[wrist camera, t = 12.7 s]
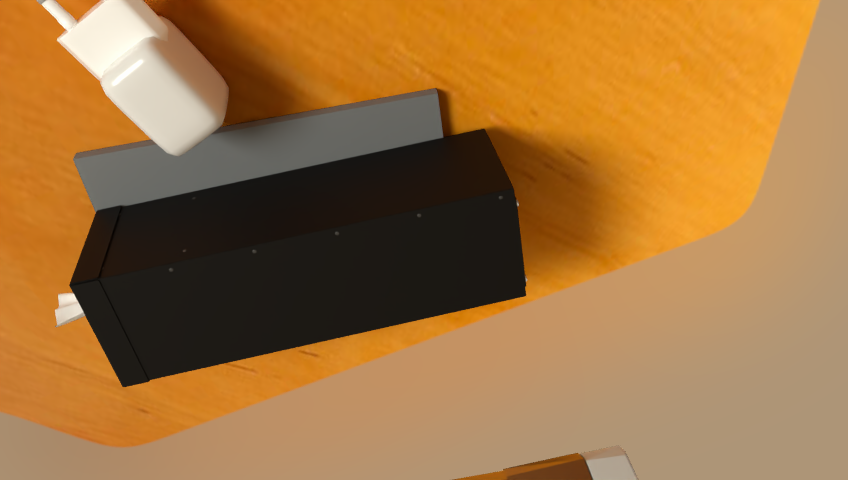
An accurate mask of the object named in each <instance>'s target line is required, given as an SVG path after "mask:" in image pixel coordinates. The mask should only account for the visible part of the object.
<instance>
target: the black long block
mask: <svg viewBox="0 0 848 480" xmlns="http://www.w3.org/2000/svg"><path fill="white" fill-rule="evenodd" d="M517 206H519V205H518V200H516V197H515V195H514V188H513V186H512V184H511V182H510V180H509V178H508V176H507V174H506V172H505V170H504V167H503V165H502V163H501V161H500V159H499V157H498V155H497V153H496V151H495V149H494V147H493V145H492V143H491V141H490V139H489V137H488V135H487V133H486V131H485V129H480V130H476V131H471V132H467V133H462V134H457V135H453V136H448V137H443V138H439V139H434V140H430V141H425V142H420V143H416V144H411V145H406V146H402V147H397V148H393V149H388V150H383V151H379V152H374V153H369V154H365V155H360V156H355V157H351V158H346V159H342V160H337V161H332V162H328V163H323V164H318V165H314V166H309V167H305V168H300V169H295V170H291V171H286V172H281V173H277V174H272V175H268V176H263V177H258V178H254V179H249V180H244V181H240V182H235V183H231V184H226V185H221V186H217V187H212V188H207V189H203V190H198V191H193V192H189V193H184V194H180V195H175V196H170V197H166V198H161V199H156V200H152V201H147V202H143V203H138V204H133V205H129V206H124V207H123V206H121V205H119V206H115V207H110V208H106V209H101V210H97V211H96V214H95V217H94V220H93V222H92V225H91V228H90V230H89V233H88V236H87V238H86V241H85V244H84V247H83V249H82V252H81V255H80V257H79V260H78V263H77V266H76V268H75V271H74V274H73V276H72V279H71V282H70V287H71V289H72V291H73V293H61V294H59V295H58V298H59V308H58V309H55V314H56V320H57V326H55V327H59V326H61V325H64V324H67V323H69V322H72V321H75V320H77V319H79V318H82V317H84V316H86V318H87V320H88V322H89V324H90V326H91V327H92V329H93V331H94V333H95V335H96V337H97V339H98V341H99V343H100V345H101V346H102V348H103V350H104V352H105V354H106V356H107V358H108V360H109V362H110V364H111V366H112V367H113V369H114V371H115V373H116V375H117V377H118V379H119V381H120V383H121V385H122V386H123V387H127V386H132V385H136V384H141V383H145V382H149V381H150V380H152V379H157V378H161V377H165V376H170V375H174V374H179V373H183V372H188V371H192V370H197V369H201V368H206V367H210V366H215V365H219V364H224V363H228V362H233V361H237V360H242V359H246V358H251V357H255V356H260V355H264V354H268V353H273V352H277V351H282V350H286V349H291V348H295V347H300V346H304V345H309V344H313V343H318V342H322V341H327V340H331V339H336V338H340V337H345V336H349V335H354V334H358V333H362V332H367V331H371V330H376V329H380V328H385V327H389V326H394V325H398V324H403V323H407V322H412V321H416V320H421V319H425V318H430V317H434V316H439V315H443V314H448V313H452V312H456V311H461V310H465V309H470V308H474V307H479V306H483V305H488V304H492V303H497V302H501V301H506V300H510V299H515V298H519V297H524V296H526V291H525V286H526V281H527V278H526V275H525V271H524V262H523V254H522V245H521V236H520V227H519V218H518V209H517Z"/></svg>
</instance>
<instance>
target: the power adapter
mask: <svg viewBox="0 0 848 480" xmlns="http://www.w3.org/2000/svg"><path fill="white" fill-rule="evenodd" d="M36 1H37V2H38V3H39V4H41V5H42V6H43V7H44V8H45V9H46V10H48V11H49V12H50V13H51V14H52V15H53V16H54V17H55V18H56V19H57V20H58V22H59V23H60V24H61V25H62V26H63V27H64V28H65V29H66V30H65V31H64V32H63V33H62V34H61V35H60V36H59V37H58V38H57V41H58V42H59V43H60V44H61V45H62V46H63V47H64V48H65V49H66V50H68V51H69V52H70V53H71V54H72V55H73V56H74V57H75V58H76V59H77V60H78V61H79V62H80V63H81V64H82V65H83V66H84V67H85V68H86V69H87V70H88V71H89V72H90V73H91V74H92V75H94V76H95V77H96V78H97V79H98V80H99V81H101V82H100V84H101V86H102V88H103V90H104V92H105V93H106V95H107V96H108V97H109V98H110V99H111V100H112V101H113V103H114V104H115V105H116V106H117V107H118V108H119V109H120V110H121V111H122V112H123V113H125V114H126V115H127V116H128V117H129V118H130V119H131V120H132V121H133V122H134V123H135V124H136V125H137V126H138V127H139V128H140V129H141V130H142V131H143V132H144V133H145V134H146V135H148V136H149V137H150V138H151V139H152V140H153V141H154V142H155V143H156V144H157V145H158V146H160V147H161V148H162V149H163V150H164V151H165V152H166V153H168V154H170V155H173V156H181V155H183V154H185V153H186V152H188V151H189V150H191V149H192V148H194V147H195V146H196V145H198V144H199V143H200V142H202V141H203V140H204V139H206V138H207V137H208V136H210V135H211V134H212V133H213V132H215V131H216V130H217V129H218V128H219V127H220V126H222V124H223V121H224V118H225V114H226V110H227V103H228V95H229V88H228V86H227V84H226V82H225V80H224V79H223V77H222V76H221V75H220V74H219V73H218V71H217V70H216V69H215V68H214V67H213V66H212V65H211V63H210V62H209V61H208V60H207V59H206V58H205V57H204V56H203V55H202V54H201V53H200V51H199V50H198V49H197V48H196V47H195V46H194V45H193V44H192V43H191V42H190V41H189V40H188V39H187V38H186V36H185V35H184V34H183V33H182V32H181V31H180V30H179V29H178V28H177V27H176V26H175V25H174V24H173V23H172V22H171V21H170V20H168V19H166V18H164V17H162V16H157V14H156V13H155V12H154V11H153V10H152V9H151V8H150V7H149V6H148V5H147V4H146V3H145V2H144V1H143V0H101V1H99V2H98V3H97V4H96V5H95V6H93V7H92V8H91V9H90V10H89V11H87V12H86V13H85V14H84V15H83V16H81V17H80V18H79V19H78V20H76V19H75V18H74V17H73V16H72V15H71V14H70V13H69V12H67V11H66V10H65V9H64V8H63V7H62V6H61V5H60V4H59V3H58V2H57V1H55V0H36Z"/></svg>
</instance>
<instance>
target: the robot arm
mask: <svg viewBox="0 0 848 480" xmlns="http://www.w3.org/2000/svg"><path fill="white" fill-rule="evenodd" d="M454 480H638V478H637V475H636V473H635V471H634V469H633V467H632V465H631V463H630V461H629V458H628V456H627V454H626V452H625V451H624V450H623V449H622V448H621V447H620V446H614V447H609V448H604V449H599V450H594V451H589V452H584V453H581V454H578V453H575V454H570V455H566V456H561V457H556V458H552V459H547V460H543V461H538V462H533V463H529V464H524V465H520V466H516V467H511V468H506V469H503V471H499V472H493V473H488V474H482V475H477V476H471V477H466V478H460V479H454Z"/></svg>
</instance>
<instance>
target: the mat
mask: <svg viewBox="0 0 848 480" xmlns="http://www.w3.org/2000/svg"><path fill="white" fill-rule="evenodd" d="M439 138H443V131H442V123H441V115H440V107H439V100H438V93H437V90H436V88H434V89H429V90H423V91H418V92H412V93H407V94H401V95H396V96H390V97H384V98H379V99H373V100H368V101H362V102H357V103H351V104H346V105H340V106H335V107H329V108H324V109H318V110H312V111H307V112H301V113H296V114H290V115H285V116H279V117H274V118H268V119H263V120H257V121H252V122H246V123H241V124H235V125H229V126H224V127H219V128H218V129H217V130H216V131H215V132H213V133H212V134H211V135H210V136H208V137H207V138H206V139H204V140H203V141H202V142H200V143H199V144H198V145H196V146H195V147H194V148H192V149H191V150H189V151H188V152H186V153H185V154H183V155H181V156H173V155H170V154H168V153H166V152H165V151H164V150H163V149H162V148H161V147H160V146H158V145H157V144H156V143H155V142H154V141H153V140H146V141H141V142H135V143H130V144H124V145H119V146H113V147H108V148H102V149H97V150H91V151H86V152H80V153H76V154H75V156H74V159H73V160H74V163H75V165H76V167H77V170H78V172H79V174H80V177H81V179H82V181H83V184H84V186H85V188H86V191H87V193H88V195H89V198H90V200H91V202H92V205H93V207H94V210H95V212H96V211H97V210H101V209H106V208H110V207H115V206H119V205H121V206H123V207H124V206H129V205H133V204H138V203H143V202H147V201H152V200H156V199H161V198H166V197H170V196H175V195H180V194H184V193H189V192H193V191H198V190H203V189H207V188H212V187H217V186H221V185H226V184H231V183H235V182H240V181H244V180H249V179H254V178H258V177H263V176H268V175H272V174H277V173H281V172H286V171H291V170H295V169H300V168H305V167H309V166H314V165H318V164H323V163H328V162H332V161H337V160H342V159H346V158H351V157H355V156H360V155H365V154H369V153H374V152H379V151H383V150H388V149H393V148H397V147H402V146H406V145H411V144H416V143H420V142H425V141H430V140H434V139H439Z"/></svg>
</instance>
